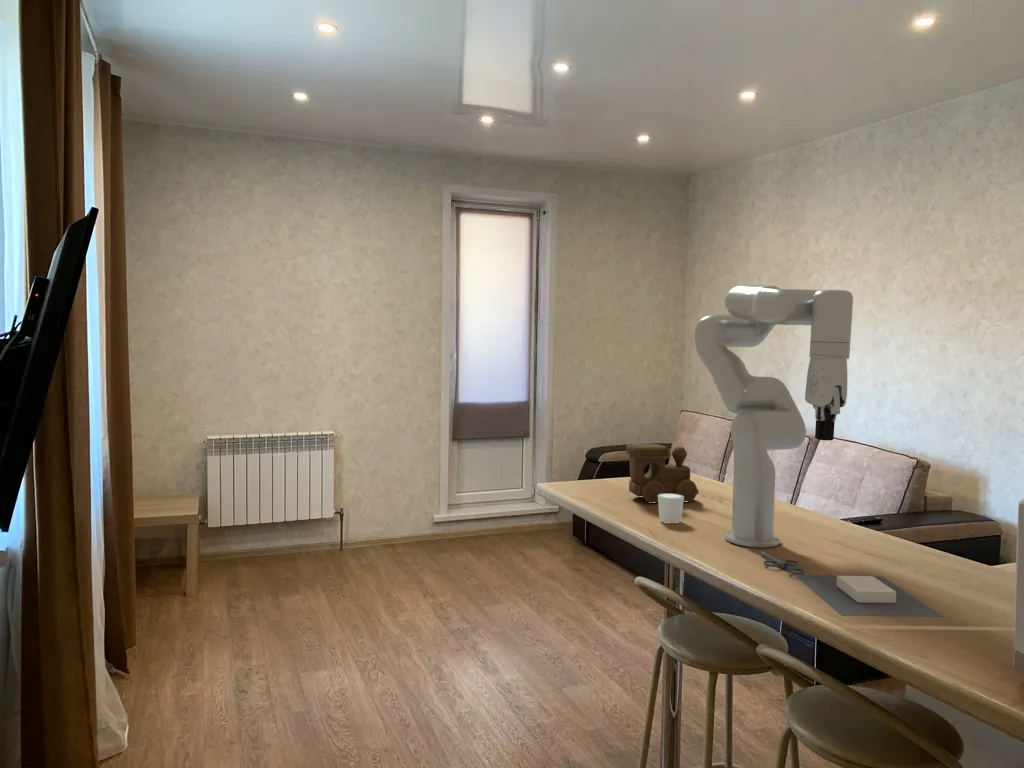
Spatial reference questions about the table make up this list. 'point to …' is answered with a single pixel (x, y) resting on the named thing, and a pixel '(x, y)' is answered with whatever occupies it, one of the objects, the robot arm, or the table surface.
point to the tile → (866, 589)
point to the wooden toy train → (659, 472)
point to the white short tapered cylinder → (670, 507)
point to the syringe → (781, 563)
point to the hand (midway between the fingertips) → (824, 439)
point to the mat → (849, 607)
